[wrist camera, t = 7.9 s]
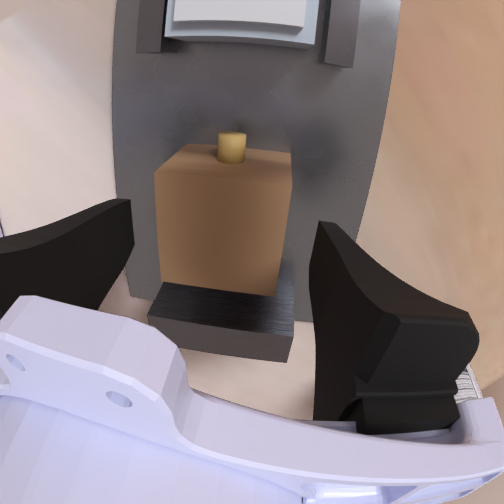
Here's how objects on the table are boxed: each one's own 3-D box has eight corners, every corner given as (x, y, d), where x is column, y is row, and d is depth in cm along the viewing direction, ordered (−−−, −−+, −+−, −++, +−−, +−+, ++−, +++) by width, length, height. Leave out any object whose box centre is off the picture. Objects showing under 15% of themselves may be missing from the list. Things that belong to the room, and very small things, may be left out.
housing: (187, 232, 16) (161, 281, 13) (188, 121, 13) (153, 143, 10) (278, 243, 16) (274, 296, 12) (293, 130, 13) (296, 155, 9)
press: (135, 288, 19) (109, 332, 16) (133, -59, 9) (92, -84, 5) (328, 314, 19) (334, 366, 16) (397, -44, 8) (431, -72, 5)
